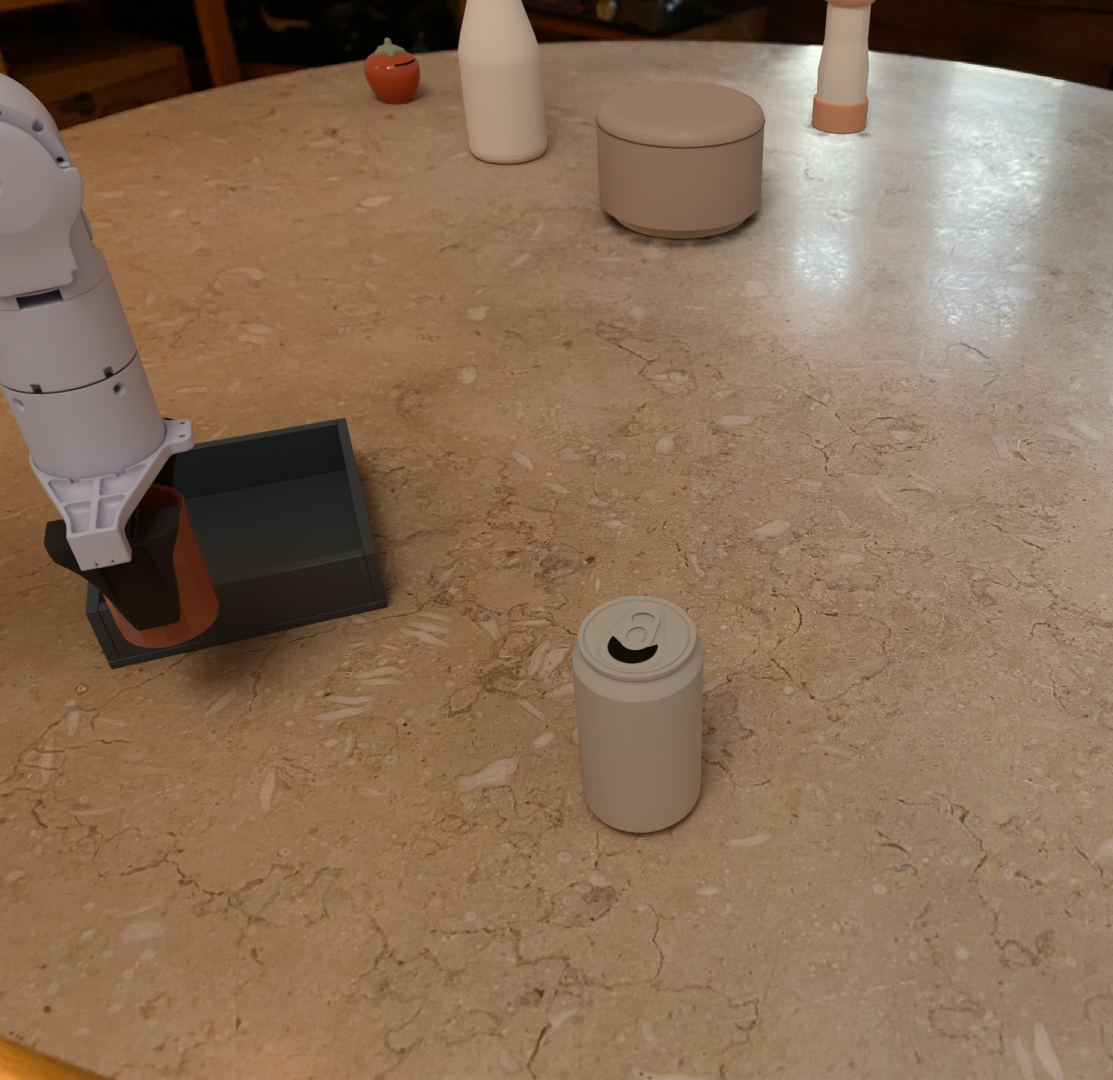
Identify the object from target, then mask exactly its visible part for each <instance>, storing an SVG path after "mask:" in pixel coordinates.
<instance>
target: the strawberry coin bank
mask: <svg viewBox="0 0 1113 1080" xmlns="http://www.w3.org/2000/svg"><path fill="white" fill-rule="evenodd" d="M363 67H364V68H363V71H364V72H363V73H364V77H365V80H366V82H367V84H368V86H369V87H370V89H371V91H372V92H373V93H374V94H375V96H377V98H379V99H380V100H381V101H383V102H384V103H386V104H390V105H400V104H405V103H408V102H410V101H412V99H413V98H414V96H415V95H416V94H417V91H418V89H419V86H420V82H421V66H420V64H419V61H418V60H417V58H416V57H415V56H414V55H413V54H412V53H410V52H408V51H406V49H404V48H403V47H401V46H400V45H397V44H393V43H392V40H391V38H389V37H385V38H384V41H383V44H382V45H378V46H377V48H376V49H375V51H374V52H372V53H371V54H370V55H368V56H367V58H366V59H365V60H364V65H363Z"/></svg>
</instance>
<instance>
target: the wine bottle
mask: <svg viewBox="0 0 1113 1080" xmlns="http://www.w3.org/2000/svg"><path fill="white" fill-rule="evenodd" d="M457 58H458V66H459V74H460V83H461V91H462V100H463V107H464V114H465V115H464V116H465V123H466V124H465V125H466V132H467V137H468V138H467V140H468V147H469V150H470V152H471V153H472V155H473V156H474V157H476V158H477V159H479V160H481V161H483V162H487V163H492V164H499V165H512V164H521V163H527V162H530V161H533V160H536V159H538V158H539V157H540V156H542V155H543V154H544V153H545V151H546V149H547V144H548V136H547V123H546V111H545V110H546V109H545V99H544V98H545V97H544V83H543V72H542V71H543V70H542V58H541V50H540V46H539V44H538V41H537V38H536V35H535V32H534V29H533V26H532V23H531V22H530V19H529V17H528V14H527V12H526V9H525V7H524V3H523V1H522V0H466V3H465V8H464V13H463V18H462V23H461V27H460V31H459V39H458V46H457Z"/></svg>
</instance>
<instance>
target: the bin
mask: <svg viewBox="0 0 1113 1080" xmlns="http://www.w3.org/2000/svg"><path fill="white" fill-rule="evenodd" d="M173 480H174V488H175V489H176V490H177V491H178V492H179V493H180V494H181V495H182V496H183V497H184V499H185V502H186V504H187V507H188V510H189V513H190V516H191V518H192V521H193V524H194V527H195V529H196V532H197V535H198V538H199V541H200V543H201V546H202V549H203V552H204V554H205V557H206V560H207V563H208V566H209V568H210V571H211V574H212V577H213V579H214V582H215V585H216V588H217V591H218V596H219V599H220V604H221V605H220V611H219V614H218V616H217V618H216V620H215V621H214V622H213V623H212V625H211V626H210V627H208V628H207V629H206V630H205V631H204V632H202V633H201V634H199V635H198V636H196V637H194V638H192V639H190V640H188V641H186V642H183V643H180V644H177V645H173V646H168V647H162V648H146V647H140V646H137V645H134V644H132V643H130V642H129V641H128V640H126V639H125V638H124V636H123V635H122V633H121V631H120V629H119V628H118V627H117V624H116V622H115V620H114V618H113V616H112V613H111V611H110V609H109V607H108V604H107V602H106V600H105V598H104V596H103V593H102V592H101V591H100V590H99V589H97V588H96V587H95V586H94V585H93V584H91V583H90V582H89V581H87V588H86V589H87V590H86V599H85V600H86V601H85V611H84V613H85V616H86V618H87V620H88V622H89V624H90V625H89V626H90V627H91V629H92V631H93V634H94V636H95V638H96V639H97V641H98V644H99V646H100V648H101V651H102V652H103V654H104V657H105V659H106V661H107V663H108V666H109V668H110V669H116V668H117V669H118V668H122V667H125V666H130V665H134V664H139V663H144V662H148V661H153V660H156V659H162V658H165V657H170V656H175V655H178V654H184V653H188V652H191V651H197V650H200V649H201V650H202V649H206V648H209V647H214V646H218V645H223V644H228V643H231V642H237V641H241V640H246V639H249V638H254V637H258V636H263V635H267V634H273V633H276V632H281V631H285V630H290V629H293V628H298V627H303V626H307V625H313V624H316V623H320V622H325V621H330V620H334V619H338V618H343V617H348V616H352V615H356V614H360V613H364V612H370V611H373V610H374V611H375V610H378V609H383V608H387V607H388V606H389V604H388V603H389V602H388V599H387V594H386V589H385V587H384V586H385V585H384V582H383V576H382V573H381V568H380V564H379V558H378V554H377V549H376V545H375V541H374V537H373V533H372V528H371V524H370V519H369V514H368V510H367V505H366V501H365V497H364V492H363V487H362V483H361V479H360V475H359V469H358V466H357V462H356V457H355V453H354V448H353V443H352V440H351V434H350V431H349V427H348V422H347V418H346V417H339V418H336V419H329V420H324V421H318V422H313V423H311V422H310V423H305V424H300V425H294V426H289V427H284V428H283V427H282V428H278V429H277V428H276V429H272V430H266V431H260V432H255V433H254V432H253V433H249V434H243V435H237V436H232V437H231V436H230V437H226V438H220V439H215V440H214V439H213V440H209V441H203V442H195V445H194V447H193V448H192V449H190V450H189V451H185V452H180V453H177V456H176V460H175V465H174V474H173Z"/></svg>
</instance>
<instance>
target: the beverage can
mask: <svg viewBox="0 0 1113 1080" xmlns="http://www.w3.org/2000/svg"><path fill="white" fill-rule="evenodd" d="M704 656H705V655H704V648H703V642H702V640H701V638H700V637H699V635H698V633H697V630H696V626H695V623H694V621H693V620H692V618H691V617H690V616H689V614H688V613H687V612H686V611H685V610H684V609H683V608H681V607H680V606H679V605H677V604H675V603H673V602H671V601H669V600H666V599H664V598H660V597H657V596H651V595H627V596H622V597H618V598H614V599H611V600H609V601H606V602H603V603H602V604H600V605H598V606H597V607H596V608H594V609H592V610H591V611H590V612H589V613H588V614H587V615H586V616H585V617H584V619H583V620H582V622H581V624H580V626H579V628H578V633H577V638H576V639H575V641H574V643H573V646H572V650H571V670H572V679H573V680H572V681H573V691H574V692H573V693H574V704H575V705H574V706H575V717H576V725H577V737H578V738H577V739H578V749H579V750H578V751H579V761H580V772H581V783H582V785H581V786H582V794H583V797H584V800H585V802H586V805H587V807H588V808H589V810H590V811H591V812H592V814H593V815H594V816H595V817H597V819H599V820H600V821H601V822H603V824H605V825H607V826H609V827H611V828H614V829H615V830H619V831H622V832H627V833H635V834H642V833H643V834H644V833H652V832H657V831H661V830H664V829H667V828H669V827H671V826H673V825H675V824H677V823H678V822H681V820H683V819H684V818H685V817H687V815H688V814H689V813H690V812H691V811H692V809H693V808H694V806H695V805H696V803H697V802H698V799H699V796H700V793H701V789H702V788H701V787H702V752H703V751H702V749H703V703H704V701H703V699H704V698H703V697H704Z"/></svg>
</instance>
